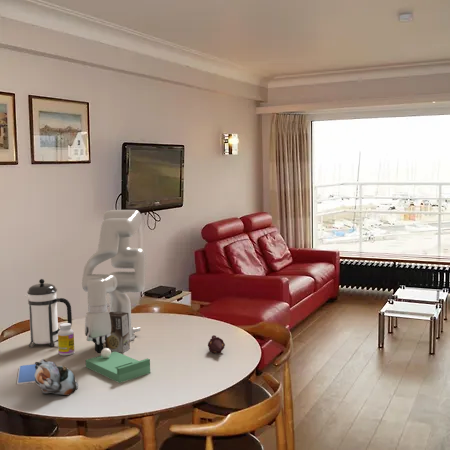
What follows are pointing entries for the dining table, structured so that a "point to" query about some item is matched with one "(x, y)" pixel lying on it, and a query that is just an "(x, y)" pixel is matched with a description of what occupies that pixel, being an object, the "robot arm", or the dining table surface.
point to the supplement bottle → (65, 339)
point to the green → (119, 366)
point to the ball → (105, 353)
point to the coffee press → (44, 313)
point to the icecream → (216, 344)
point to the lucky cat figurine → (54, 378)
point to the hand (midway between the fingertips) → (99, 352)
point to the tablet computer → (26, 374)
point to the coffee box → (118, 332)
